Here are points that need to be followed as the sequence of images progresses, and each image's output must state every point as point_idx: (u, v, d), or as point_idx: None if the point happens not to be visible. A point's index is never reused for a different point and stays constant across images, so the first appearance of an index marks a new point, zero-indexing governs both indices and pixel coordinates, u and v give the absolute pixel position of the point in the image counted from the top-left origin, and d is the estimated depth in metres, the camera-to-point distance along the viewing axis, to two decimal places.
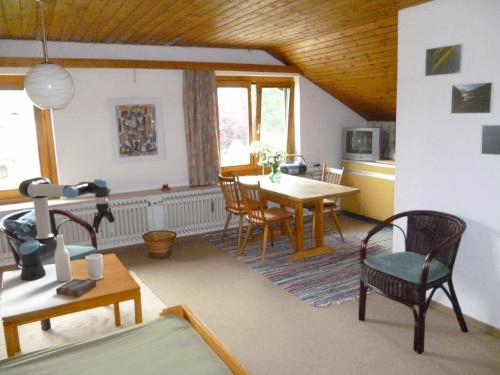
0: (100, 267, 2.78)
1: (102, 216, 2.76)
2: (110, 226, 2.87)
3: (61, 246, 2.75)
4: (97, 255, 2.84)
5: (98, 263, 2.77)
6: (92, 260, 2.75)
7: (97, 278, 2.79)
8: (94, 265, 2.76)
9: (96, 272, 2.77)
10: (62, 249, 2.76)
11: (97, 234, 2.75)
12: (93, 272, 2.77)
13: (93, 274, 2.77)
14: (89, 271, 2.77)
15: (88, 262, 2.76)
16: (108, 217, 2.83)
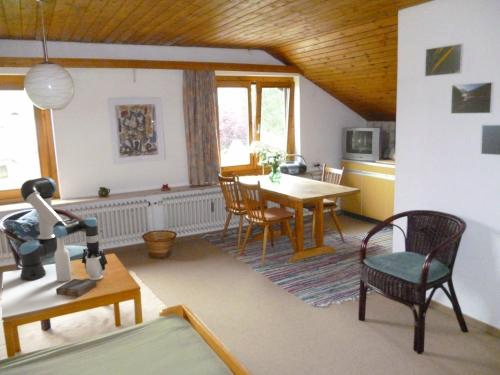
0: (100, 267, 2.78)
1: (88, 254, 2.79)
2: None
3: (61, 246, 2.75)
4: None
5: (98, 263, 2.77)
6: (92, 260, 2.75)
7: (97, 278, 2.79)
8: (94, 265, 2.76)
9: (96, 272, 2.77)
10: (62, 249, 2.76)
11: None
12: (93, 272, 2.77)
13: (93, 274, 2.77)
14: (89, 271, 2.77)
15: (88, 262, 2.76)
16: None
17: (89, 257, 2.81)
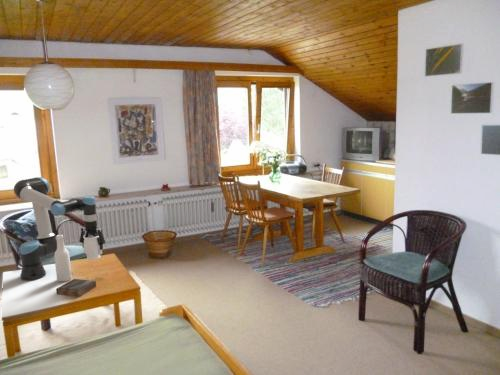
0: None
1: (86, 233, 2.76)
2: None
3: (61, 246, 2.75)
4: None
5: (96, 242, 2.75)
6: (90, 239, 2.73)
7: (95, 257, 2.77)
8: (92, 244, 2.73)
9: (93, 252, 2.75)
10: (62, 249, 2.76)
11: None
12: (91, 252, 2.75)
13: (91, 253, 2.75)
14: (87, 250, 2.75)
15: (86, 241, 2.74)
16: None
17: (87, 236, 2.78)
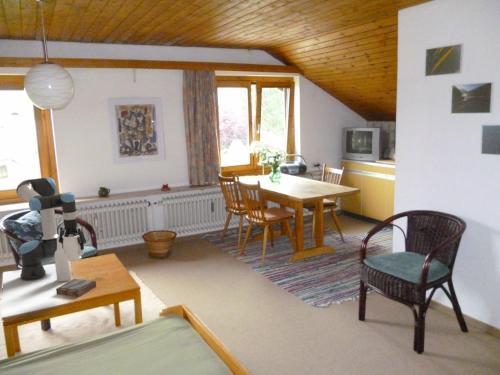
0: (78, 247, 2.56)
1: (65, 232, 2.56)
2: None
3: (61, 246, 2.75)
4: None
5: (76, 242, 2.55)
6: (69, 239, 2.53)
7: (75, 259, 2.57)
8: (72, 244, 2.54)
9: (73, 252, 2.55)
10: (62, 249, 2.76)
11: None
12: (71, 252, 2.55)
13: (71, 254, 2.55)
14: (66, 251, 2.55)
15: (65, 241, 2.54)
16: None
17: (66, 236, 2.59)
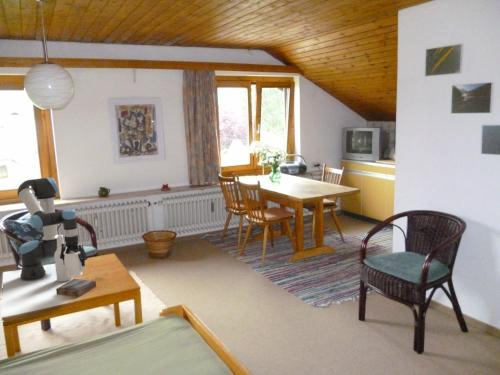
0: (79, 263, 2.57)
1: (66, 249, 2.58)
2: None
3: (61, 246, 2.75)
4: None
5: (77, 259, 2.56)
6: (70, 255, 2.54)
7: (76, 275, 2.58)
8: (73, 261, 2.55)
9: (74, 269, 2.56)
10: None
11: None
12: (72, 269, 2.56)
13: (72, 270, 2.56)
14: (67, 267, 2.56)
15: (66, 258, 2.55)
16: None
17: (68, 252, 2.60)
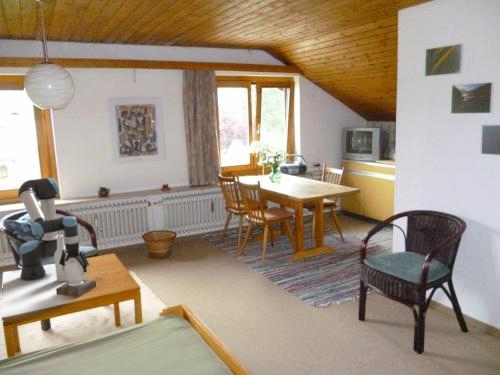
0: (80, 272, 2.59)
1: (67, 256, 2.59)
2: None
3: (61, 246, 2.75)
4: None
5: (78, 268, 2.57)
6: (71, 265, 2.55)
7: (77, 284, 2.59)
8: (74, 270, 2.56)
9: (75, 278, 2.57)
10: (62, 249, 2.76)
11: None
12: (73, 278, 2.57)
13: (73, 280, 2.57)
14: (68, 277, 2.57)
15: (67, 267, 2.56)
16: (78, 260, 2.58)
17: (68, 259, 2.61)
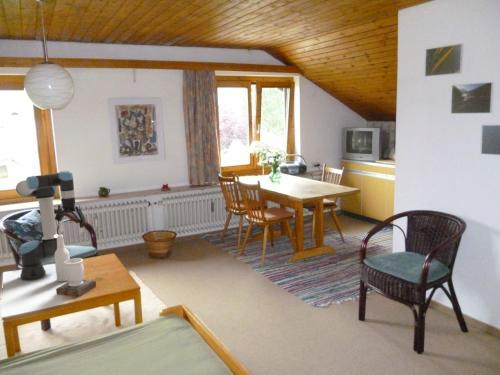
0: (80, 272, 2.59)
1: (63, 211, 2.55)
2: None
3: (61, 246, 2.75)
4: (77, 259, 2.65)
5: (78, 268, 2.57)
6: (71, 265, 2.55)
7: (77, 284, 2.59)
8: (74, 270, 2.56)
9: (75, 278, 2.57)
10: (62, 249, 2.76)
11: None
12: (73, 278, 2.57)
13: (73, 280, 2.57)
14: (68, 277, 2.57)
15: (67, 267, 2.56)
16: (74, 215, 2.54)
17: (63, 214, 2.58)
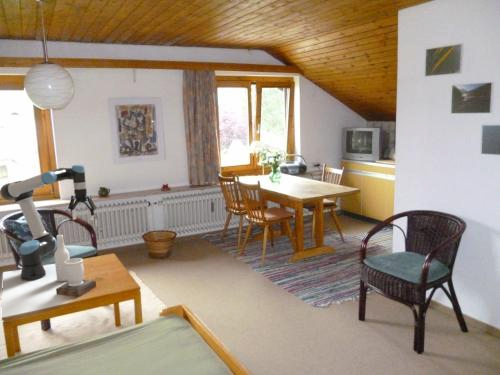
0: (80, 272, 2.59)
1: (75, 201, 2.84)
2: None
3: (61, 246, 2.75)
4: (77, 259, 2.65)
5: (78, 268, 2.57)
6: (71, 265, 2.55)
7: (77, 284, 2.59)
8: (74, 270, 2.56)
9: (75, 278, 2.57)
10: (62, 249, 2.76)
11: None
12: (73, 278, 2.57)
13: (73, 280, 2.57)
14: (68, 277, 2.57)
15: (67, 267, 2.56)
16: (86, 204, 2.83)
17: (76, 204, 2.86)
